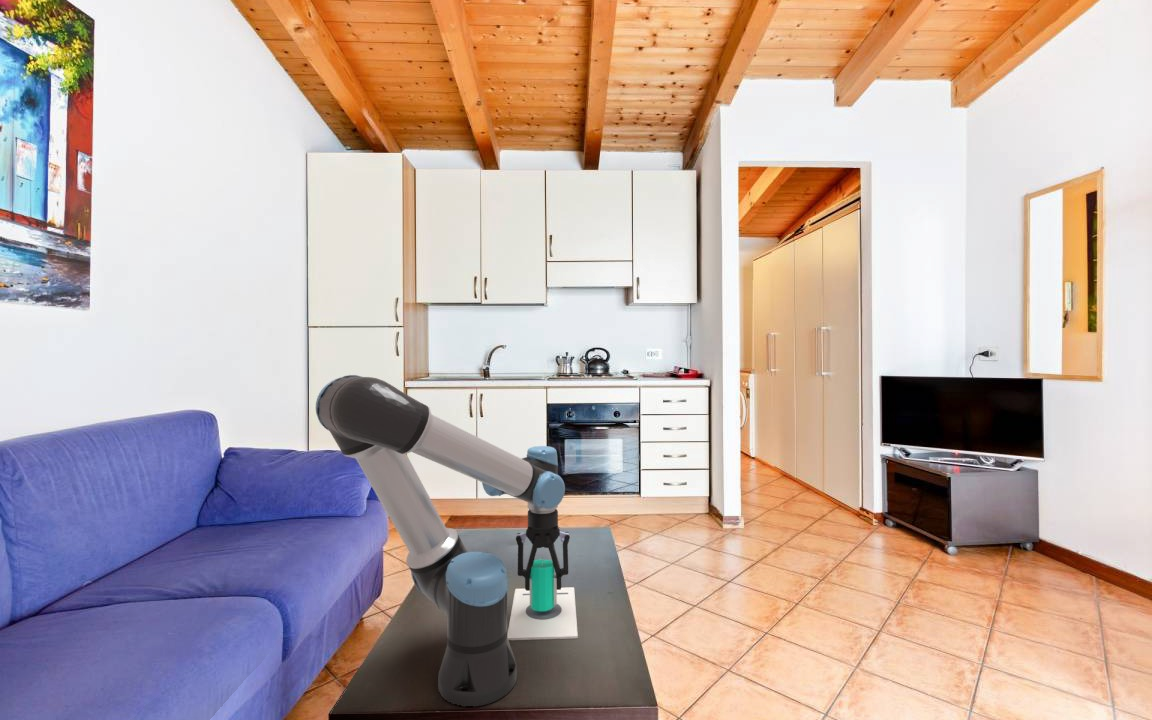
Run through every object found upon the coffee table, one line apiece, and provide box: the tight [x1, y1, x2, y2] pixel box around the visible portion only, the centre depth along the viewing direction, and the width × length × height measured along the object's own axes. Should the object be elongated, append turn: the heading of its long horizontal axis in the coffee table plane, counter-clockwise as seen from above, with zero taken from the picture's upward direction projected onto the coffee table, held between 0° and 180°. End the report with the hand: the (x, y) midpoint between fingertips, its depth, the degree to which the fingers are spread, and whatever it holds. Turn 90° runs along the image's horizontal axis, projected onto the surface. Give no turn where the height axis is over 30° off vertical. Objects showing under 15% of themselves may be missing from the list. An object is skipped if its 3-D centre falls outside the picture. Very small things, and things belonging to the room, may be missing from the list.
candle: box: [530, 558, 555, 611], centre depth 124 cm, size 6×6×12 cm
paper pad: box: [507, 586, 579, 641], centre depth 125 cm, size 24×16×1 cm, turn 2°
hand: (543, 602), depth 124 cm, fingers closed on candle, 5 cm apart
